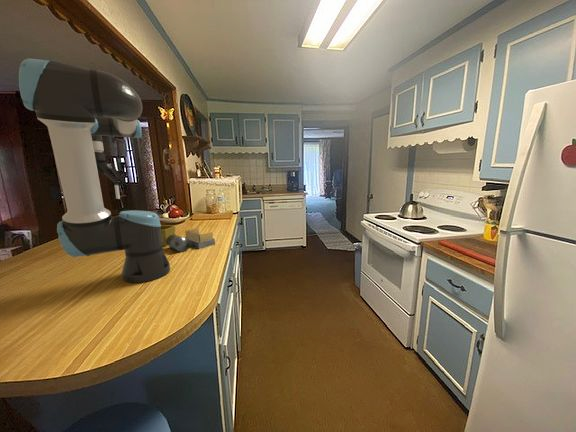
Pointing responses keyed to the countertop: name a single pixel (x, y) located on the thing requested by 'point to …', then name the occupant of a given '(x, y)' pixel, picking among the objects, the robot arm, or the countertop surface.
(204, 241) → the motor block
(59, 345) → the countertop surface
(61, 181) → the robot arm
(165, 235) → the flower pot
